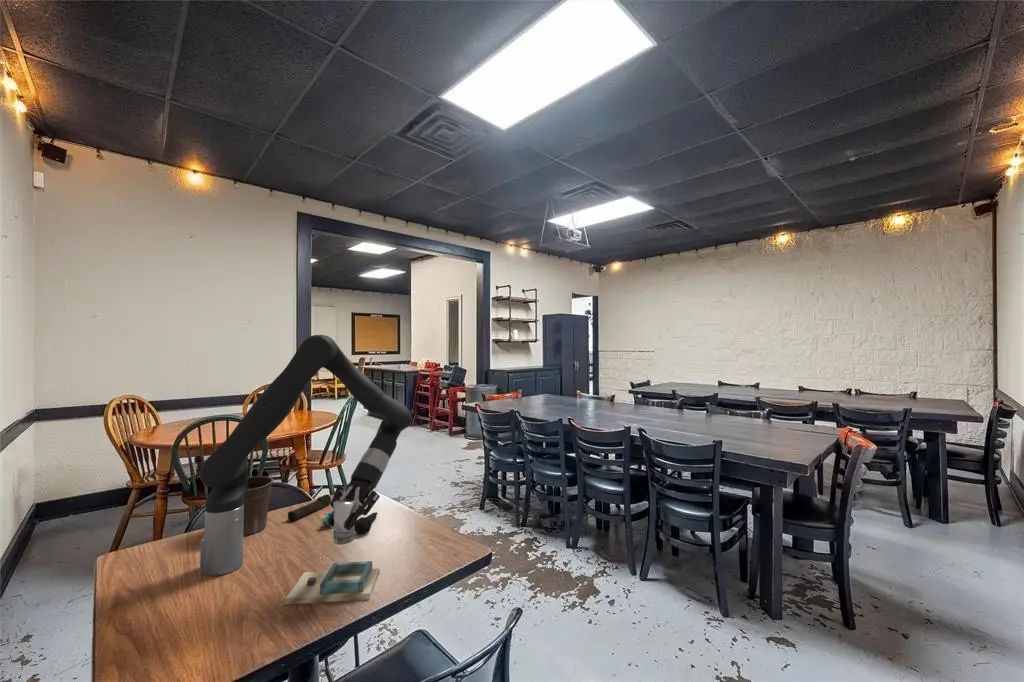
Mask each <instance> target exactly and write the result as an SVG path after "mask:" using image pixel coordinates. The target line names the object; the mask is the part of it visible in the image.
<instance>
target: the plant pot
mask: <svg viewBox="0 0 1024 682" xmlns="http://www.w3.org/2000/svg"><path fill="white" fill-rule="evenodd" d="M273 482H274V478H272V477H270V476H266V475H265V476H262V475H260V476H259V475H258V476H255V475H253V476H248V481H247V491H246V494H245V497H244V528H243V537H246V536H251V535H254V534H257V533H259V532H261V531H263V530H264V529H265V528H266V526H267V523H268V513H269V512H268V511H269V501H270V495H271V493H272V492H271V490H272V485H273Z"/></svg>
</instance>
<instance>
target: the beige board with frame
mask: <svg viewBox="0 0 1024 682" xmlns="http://www.w3.org/2000/svg"><path fill="white" fill-rule="evenodd" d="M380 572H381V570H380V568H373V560H370V561H369V560H368V561H349V562H333V563H332V564H331V566H330V568H329V569H328V570H325V571H308V572H305V571H304V572H303V574H302V575H301V577H300V578H299V579H298V580H297V582H296V584H295V585H294V586H293V587H292V589H291V590H290V591H289V593H288V595H287V596H285V602H284V603H285V606H286V605H299V604H300V605H302V604H316V603H318V604H319V603H333V602H349V601H350V602H351V601H366V600H368V601H369V600H370V599H371V597H372V594H373V592H374V590H375V586H376V583H377V581H378V579H379V577H378V576H380Z"/></svg>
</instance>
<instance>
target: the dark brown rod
mask: <svg viewBox="0 0 1024 682" xmlns="http://www.w3.org/2000/svg"><path fill="white" fill-rule="evenodd" d="M330 495H331V494H324V495H321V496H319V497H317V499H316V500H314V501H312V502H311V503H308V504H306V505H304V506H300V507H299V508H296V509H294V510H292V511H291V510H289V511H288V512H287V520H288V521H289V522H291V523H292V522H296V521H299V520H300V519H301V518H303V517H304V516H307V515H309V514H311V513H314V512H316V511H318V510H323V508H324V509H326V508H327V507H328V506H331V505H330V504H331V501H332V497H331V496H330ZM325 507H326V508H325Z"/></svg>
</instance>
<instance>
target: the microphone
mask: <svg viewBox="0 0 1024 682" xmlns="http://www.w3.org/2000/svg"><path fill="white" fill-rule="evenodd" d="M377 515H378V512H377V511H376V512H372V513H371V514H369V515H368V516H367V515H366V517H365V516H364V517H361V516H360V517H358V519H357V521H356V522H355V524H354V527H355V534H357V535H359V534H360V535H366V534H369V532H370V530H371V528H372V524H373V522H374V521H375V520H376V518H377Z"/></svg>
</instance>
